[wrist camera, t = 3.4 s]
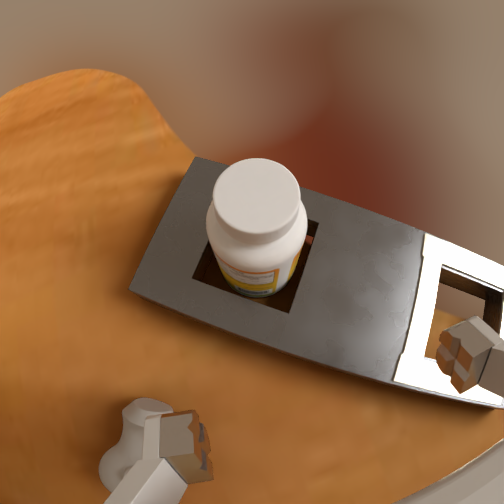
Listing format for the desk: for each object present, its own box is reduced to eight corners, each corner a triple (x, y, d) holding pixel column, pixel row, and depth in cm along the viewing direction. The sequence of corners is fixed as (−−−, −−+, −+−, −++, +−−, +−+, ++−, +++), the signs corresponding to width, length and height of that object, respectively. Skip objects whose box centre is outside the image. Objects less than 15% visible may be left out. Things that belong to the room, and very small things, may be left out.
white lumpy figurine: (160, 495, 19) (97, 468, 18) (200, 412, 21) (133, 382, 20) (161, 524, 14) (86, 494, 14) (207, 432, 17) (126, 396, 16)
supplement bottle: (266, 215, 25) (269, 129, 16) (310, 270, 23) (341, 206, 14) (205, 253, 24) (175, 181, 15) (247, 314, 22) (239, 273, 13)
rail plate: (140, 297, 23) (127, 288, 20) (200, 174, 26) (195, 154, 24) (495, 409, 19) (514, 410, 16) (514, 287, 22) (533, 279, 20)
